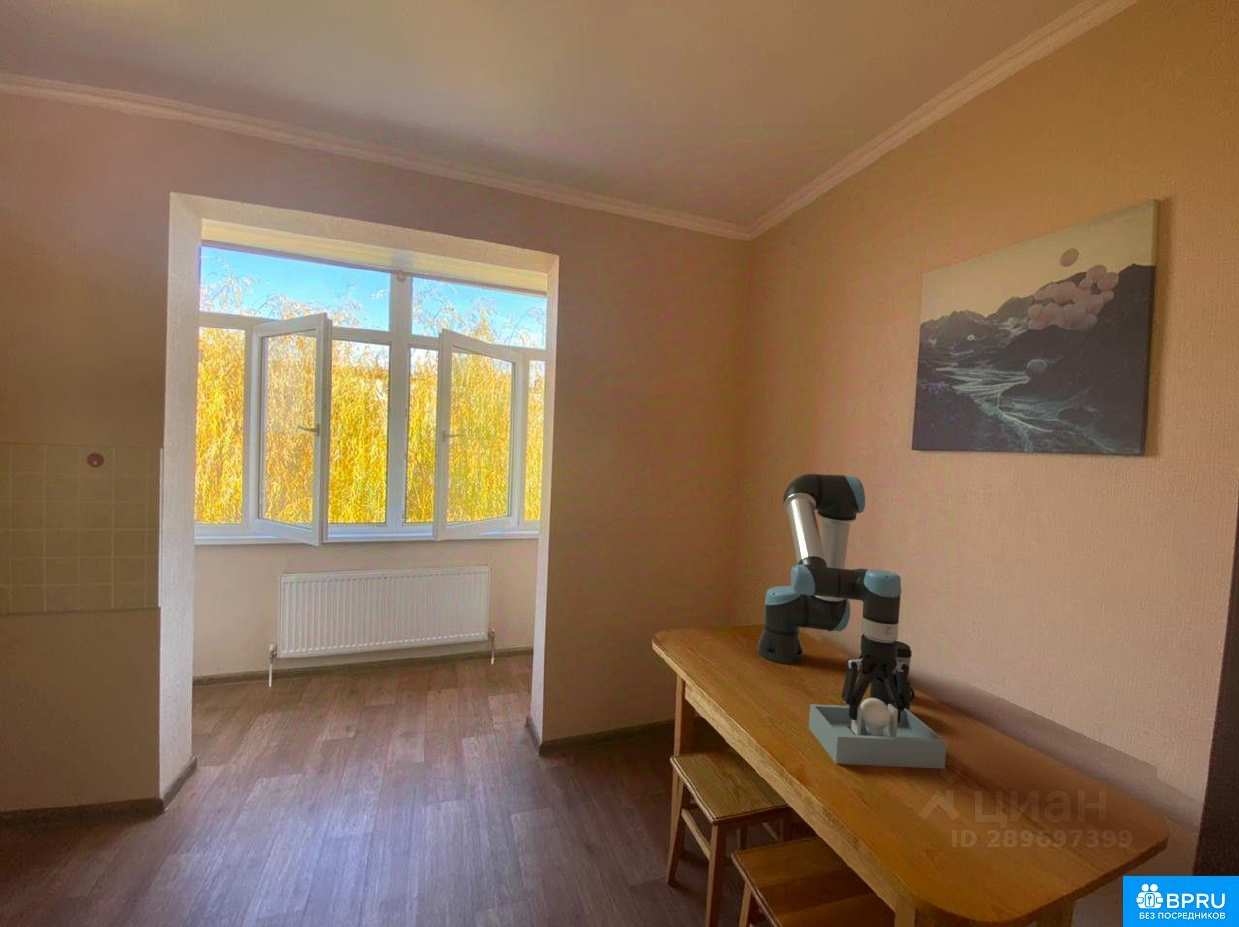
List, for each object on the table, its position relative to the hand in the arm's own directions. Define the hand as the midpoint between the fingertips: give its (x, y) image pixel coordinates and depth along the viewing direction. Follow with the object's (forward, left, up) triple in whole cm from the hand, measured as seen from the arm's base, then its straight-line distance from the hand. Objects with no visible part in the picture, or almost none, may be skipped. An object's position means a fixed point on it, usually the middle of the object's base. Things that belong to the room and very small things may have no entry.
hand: (873, 733), depth 111 cm
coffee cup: (-27, +22, -3) cm, 35 cm away
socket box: (0, 0, -3) cm, 3 cm away
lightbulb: (0, 0, -3) cm, 3 cm away
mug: (-17, +16, -3) cm, 23 cm away
